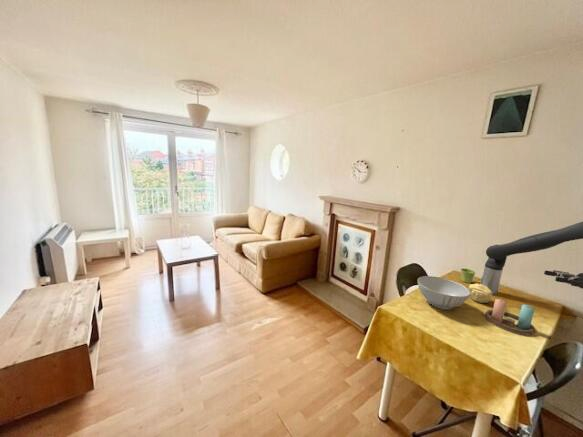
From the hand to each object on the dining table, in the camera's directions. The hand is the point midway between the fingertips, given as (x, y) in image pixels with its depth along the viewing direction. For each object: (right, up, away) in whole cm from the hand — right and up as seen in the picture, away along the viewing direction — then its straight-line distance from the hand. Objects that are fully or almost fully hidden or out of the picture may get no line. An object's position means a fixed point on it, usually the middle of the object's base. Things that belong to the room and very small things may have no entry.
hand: (550, 275), depth 118 cm
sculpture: (-11, -24, +31) cm, 41 cm away
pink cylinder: (-20, -27, +9) cm, 34 cm away
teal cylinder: (-10, -28, +4) cm, 30 cm away
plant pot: (+2, -19, +59) cm, 63 cm away
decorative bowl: (-40, -23, +24) cm, 53 cm away
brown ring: (-14, -27, +8) cm, 32 cm away
